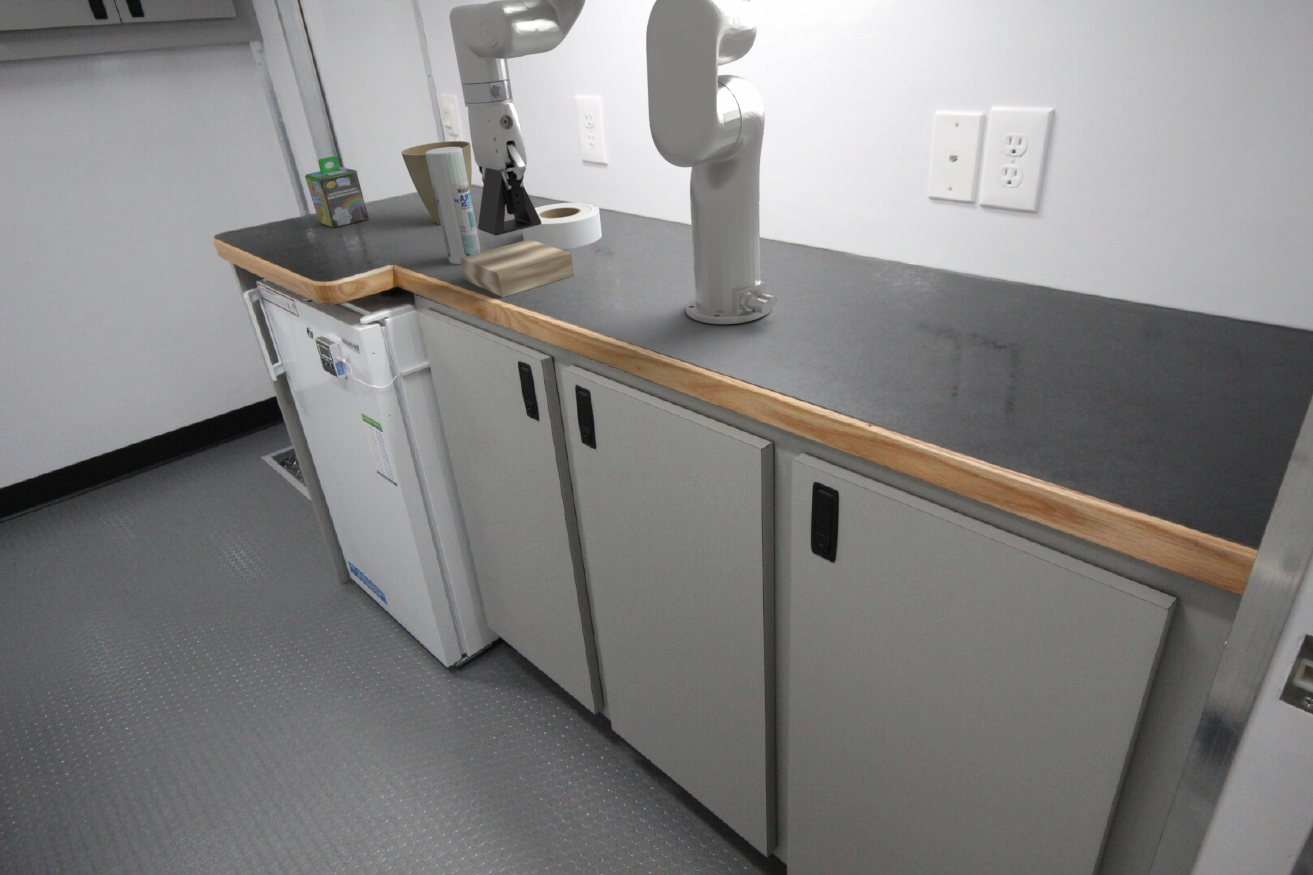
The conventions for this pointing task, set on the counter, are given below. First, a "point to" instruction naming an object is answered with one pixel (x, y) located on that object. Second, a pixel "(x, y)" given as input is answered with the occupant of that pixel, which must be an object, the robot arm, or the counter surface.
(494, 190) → the black triangular stand
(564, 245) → the roll of tape
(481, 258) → the birch base
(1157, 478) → the counter surface
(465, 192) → the spray can
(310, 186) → the chalk box
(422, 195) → the plant pot
